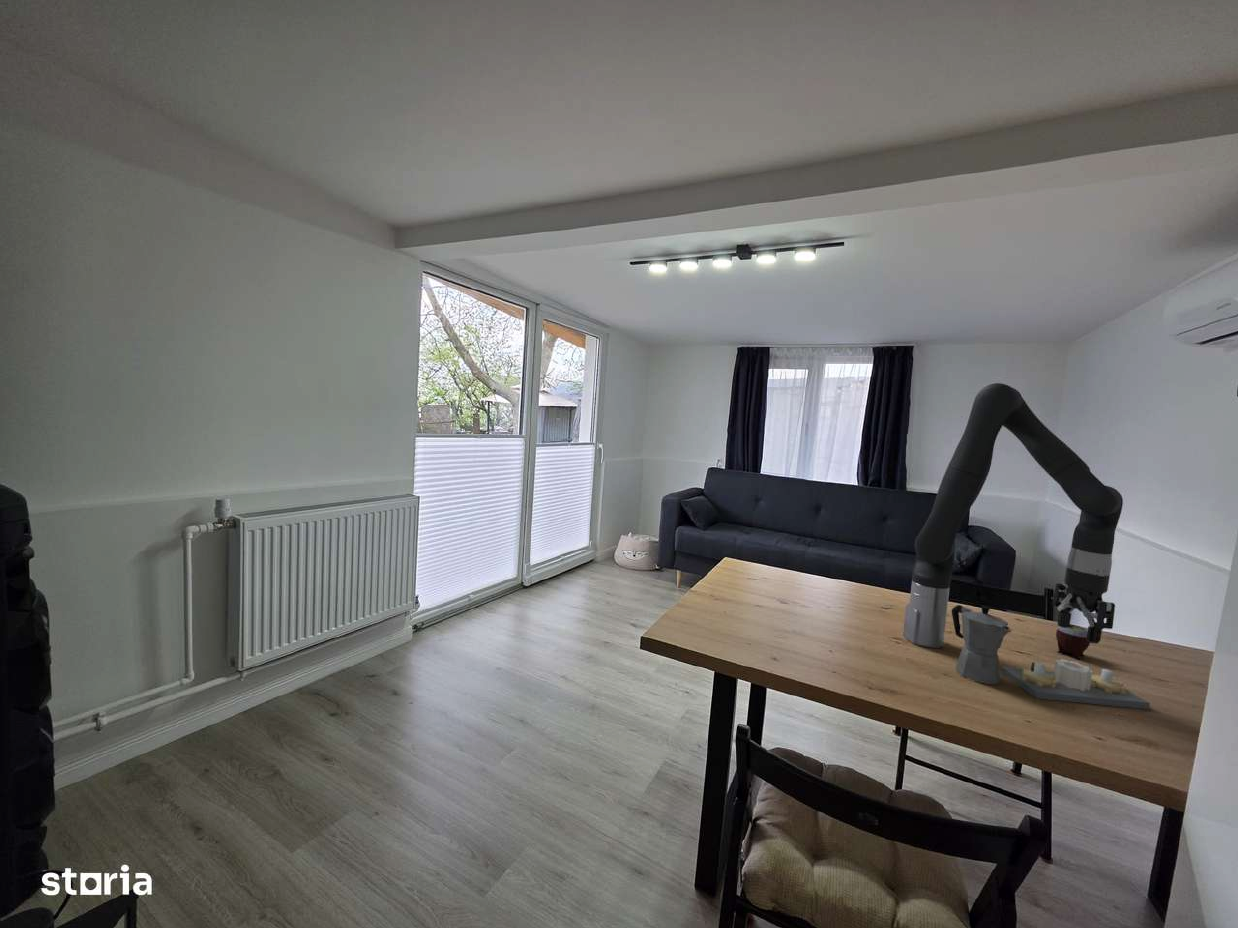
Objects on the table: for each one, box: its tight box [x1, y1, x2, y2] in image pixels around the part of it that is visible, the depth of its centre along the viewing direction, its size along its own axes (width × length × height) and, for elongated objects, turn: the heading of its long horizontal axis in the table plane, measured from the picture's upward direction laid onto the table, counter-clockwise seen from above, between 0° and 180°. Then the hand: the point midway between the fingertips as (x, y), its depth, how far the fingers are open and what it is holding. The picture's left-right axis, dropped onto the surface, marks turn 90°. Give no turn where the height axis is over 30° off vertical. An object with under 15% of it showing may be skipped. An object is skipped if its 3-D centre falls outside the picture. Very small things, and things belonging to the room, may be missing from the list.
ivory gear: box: [1053, 658, 1094, 691], centre depth 119 cm, size 7×7×4 cm
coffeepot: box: [951, 604, 1012, 685], centre depth 124 cm, size 15×9×18 cm, turn 13°
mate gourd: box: [1050, 596, 1091, 661], centre depth 139 cm, size 8×8×15 cm
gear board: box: [1001, 661, 1151, 710], centre depth 119 cm, size 24×12×6 cm, turn 85°
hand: (1077, 634), depth 118 cm, fingers open, 8 cm apart
